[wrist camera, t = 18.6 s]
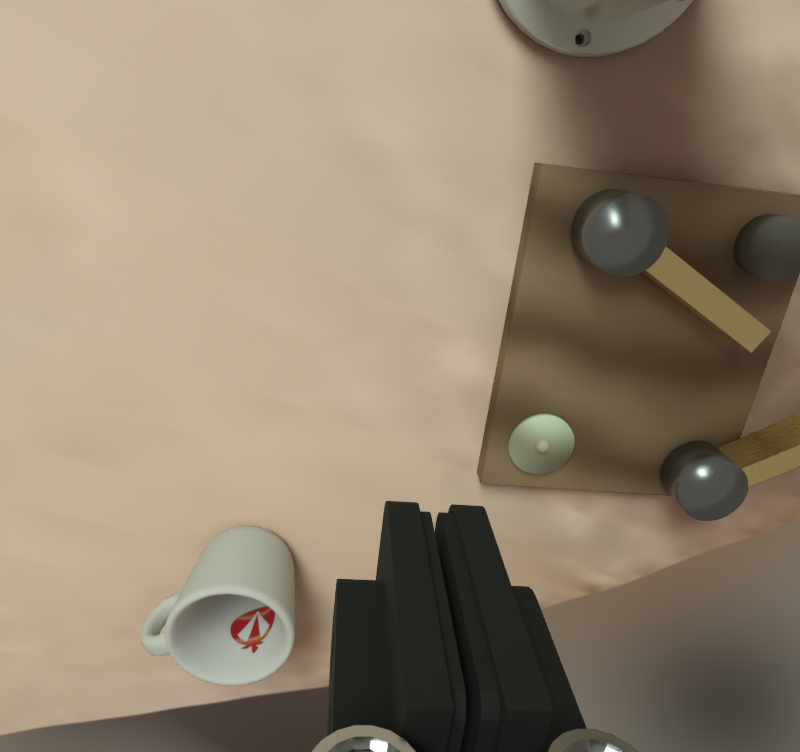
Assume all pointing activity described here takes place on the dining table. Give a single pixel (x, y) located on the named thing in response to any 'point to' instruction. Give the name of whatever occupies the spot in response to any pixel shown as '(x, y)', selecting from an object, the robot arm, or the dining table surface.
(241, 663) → the cup
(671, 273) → the ball knob lever
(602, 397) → the base plate
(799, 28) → the dining table surface
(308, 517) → the dining table surface
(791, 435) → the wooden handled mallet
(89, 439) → the dining table surface
